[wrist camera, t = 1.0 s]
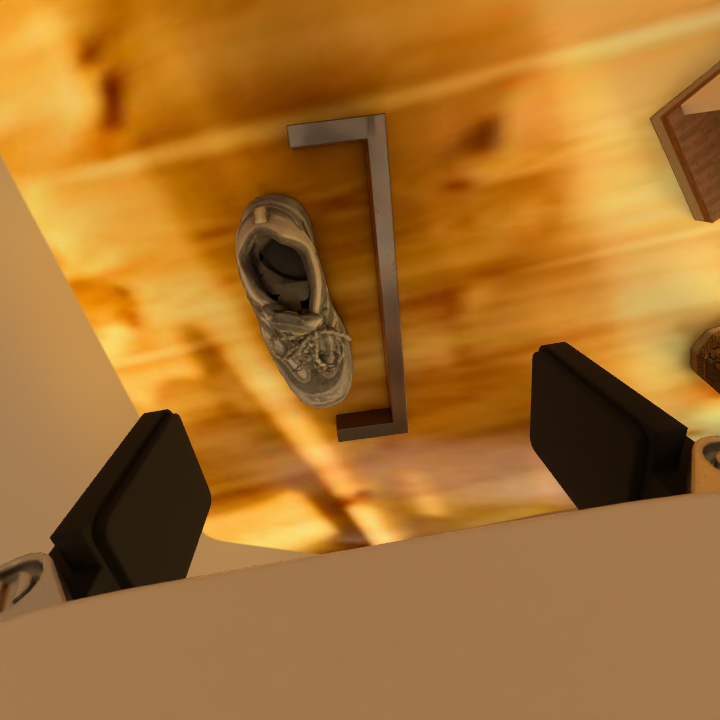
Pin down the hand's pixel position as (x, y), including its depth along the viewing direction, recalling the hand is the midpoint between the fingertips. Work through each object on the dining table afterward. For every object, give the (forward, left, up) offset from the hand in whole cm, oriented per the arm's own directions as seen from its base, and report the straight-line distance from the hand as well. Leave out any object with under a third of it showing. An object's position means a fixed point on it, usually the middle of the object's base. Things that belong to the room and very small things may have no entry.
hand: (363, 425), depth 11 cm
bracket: (+6, +1, -31) cm, 32 cm away
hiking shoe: (+6, -5, -31) cm, 32 cm away
